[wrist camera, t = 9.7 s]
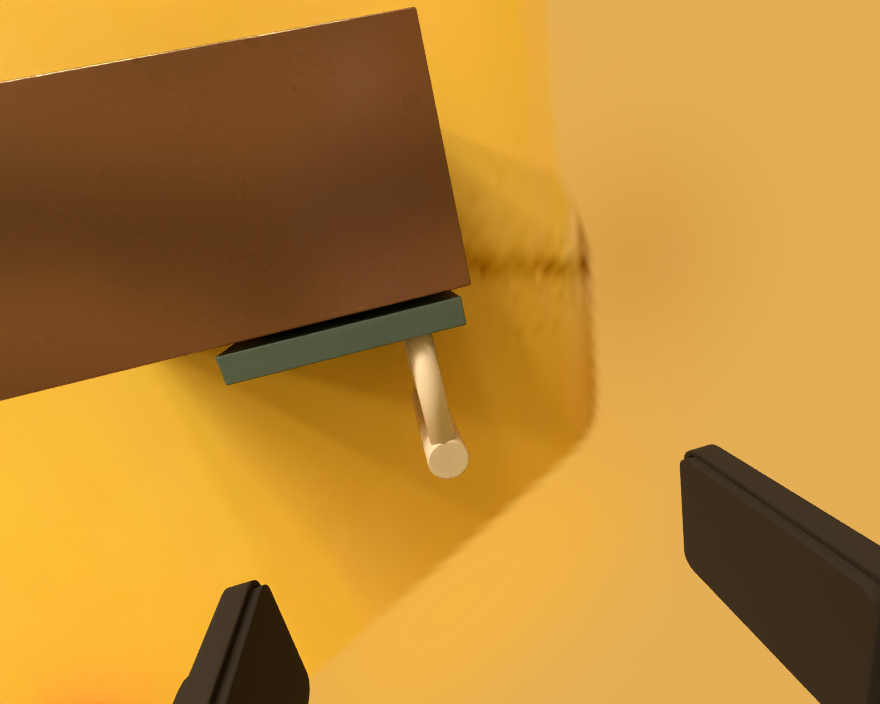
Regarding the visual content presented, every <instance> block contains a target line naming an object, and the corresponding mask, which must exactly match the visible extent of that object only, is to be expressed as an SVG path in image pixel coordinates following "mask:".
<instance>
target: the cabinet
mask: <svg viewBox="0 0 880 704" xmlns="http://www.w3.org/2000/svg"><path fill="white" fill-rule="evenodd" d="M469 285H471V281H470V276H469V271H468V266H467V261H466V256H465V251H464V246H463V241H462V236H461V231H460V226H459V221H458V216H457V211H456V206H455V201H454V196H453V191H452V186H451V181H450V176H449V171H448V166H447V161H446V156H445V150H444V145H443V140H442V135H441V130H440V125H439V120H438V115H437V110H436V105H435V100H434V95H433V90H432V85H431V80H430V75H429V70H428V65H427V60H426V55H425V50H424V45H423V40H422V35H421V30H420V25H419V20H418V15H417V10H416V8H415V7H411V8H405V9H400V10H394V11H389V12H383V13H378V14H372V15H367V16H361V17H356V18H350V19H345V20H339V21H334V22H328V23H323V24H317V25H312V26H306V27H301V28H295V29H290V30H284V31H278V32H273V33H267V34H262V35H256V36H251V37H245V38H240V39H234V40H229V41H223V42H218V43H212V44H207V45H201V46H196V47H190V48H185V49H179V50H174V51H168V52H163V53H157V54H152V55H146V56H141V57H135V58H130V59H124V60H119V61H113V62H107V63H102V64H96V65H91V66H85V67H80V68H74V69H69V70H63V71H58V72H52V73H47V74H41V75H36V76H30V77H25V78H19V79H14V80H8V81H3V82H0V401H2V400H6V399H10V398H14V397H18V396H22V395H26V394H30V393H34V392H38V391H42V390H46V389H50V388H54V387H59V386H63V385H67V384H71V383H75V382H79V381H83V380H87V379H91V378H95V377H99V376H103V375H107V374H111V373H115V372H119V371H124V370H128V369H132V368H136V367H140V366H144V365H148V364H152V363H156V362H160V361H164V360H168V359H172V358H176V357H180V356H184V355H189V354H193V353H197V352H201V351H205V350H209V349H213V348H217V347H221V346H225V345H229V344H233V343H237V342H241V341H245V340H249V339H254V338H258V337H262V336H266V335H270V334H274V333H278V332H282V331H286V330H290V329H294V328H298V327H302V326H306V325H310V324H314V323H319V322H323V321H327V320H331V319H335V318H339V317H343V316H347V315H351V314H355V313H359V312H363V311H367V310H371V309H375V308H379V307H384V306H388V305H392V304H396V303H400V302H404V301H408V300H412V299H416V298H420V297H424V296H428V295H432V294H436V293H440V292H444V291H449V290H453V289H457V288H461V287H465V286H469Z"/></svg>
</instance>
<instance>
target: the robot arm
mask: <svg viewBox="0 0 880 704" xmlns="http://www.w3.org/2000/svg"><path fill="white" fill-rule="evenodd" d="M680 476H681V477H680V478H681V495H682V515H683V534H684V552H685V556H686V559H687V561H688V563H689V565H690V567H691V568H692V569H693V570H694V572H695V573H696V574H697V575H698V576H699V577H700V578H701V579H702V580H703V581H704V582H705V583H706V584H707V585H708V586H709V587H710V588H711V589H712V590H713V591H714V593H715V594H716V595H717V596H718V597H719V598H720V599H721V600H722V601H723V602H724V603H725V604H726V605H727V606H728V607H729V608H730V609H731V610H732V611H733V613H734V614H735V615H736V616H737V617H738V618H739V619H740V620H741V621H742V622H743V623H744V624H745V625H746V626H747V627H748V628H749V629H750V630H751V631H752V632H753V633H754V634H755V636H756V637H758V639H759V640H760V641H761V642H762V643H763V644H764V645H765V646H766V647H767V648H768V649H769V650H770V651H771V652H772V653H773V654H774V655H775V656H776V658H778V660H780V662H781V663H782V664H783V665H784V666H785V667H786V668H787V669H788V670H789V671H790V672H791V673H792V674H793V675H794V676H795V677H796V678H797V680H799V682H800V683H801V684H802V685H803V686H804V687H805V688H806V689H807V690H808V691H809V692H810V693H811V694H812V695H813V696H814V697H815V698H816V699H817V700H818V701H819V702H820V704H880V546H879V545H878V544H876V543H875V542H873V541H871V540H870V539H868V538H866V537H865V536H863V535H862V534H860V533H858V532H857V531H855V530H853V529H852V528H850V527H849V526H847V525H845V524H844V523H842V522H840V521H839V520H837V519H836V518H834V517H832V516H831V515H829V514H827V513H826V512H824V511H823V510H821V509H819V508H818V507H816V506H814V505H813V504H811V503H809V502H808V501H806V500H805V499H803V498H801V497H800V496H798V495H797V494H795V493H793V492H791V491H790V490H788V489H787V488H785V487H784V486H782V485H780V484H779V483H777V482H775V481H774V480H772V479H770V478H769V477H767V476H766V475H764V474H762V473H761V472H759V471H757V470H756V469H754V468H753V467H751V466H749V465H748V464H746V463H745V462H743V461H741V460H740V459H738V458H736V457H735V456H733V455H731V454H730V453H728V452H727V451H725V450H723V449H722V448H720V447H718V446H716V445H711V444H710V445H707V446H704V447H700V448H697V449H693V450H690V451H688V452H686V454H685V456H684V460H682V461H681V462H680ZM309 688H310V686H309V678H308V674H307V672H306V669H305V667H304V665H303V663H302V660H301V658H300V656H299V653H298V651H297V649H296V647H295V644H294V642H293V640H292V638H291V635H290V633H289V631H288V628H287V626H286V624H285V622H284V619H283V617H282V615H281V613H280V610H279V608H278V606H277V603H276V601H275V599H274V597H273V594H272V592H271V590H270V588H269V586H268V585H262V586H261V585H260V583H259V582H258V581H257V580H253V581H249V582H246V583H243V584H239V585H236V586H232V587H229V588H227V589H226V590H225V591H224V592H223V594H222V596H221V599H220V601H219V603H218V606H217V608H216V611H215V613H214V616H213V618H212V620H211V623H210V625H209V628H208V630H207V633H206V635H205V637H204V640H203V642H202V645H201V647H200V650H199V652H198V654H197V657H196V659H195V662H194V664H193V667H192V669H191V671H190V674H189V676H188V677H187V678H186V679H185V680H184V681H183V683H182V685H181V687H180V688H179V690H178V692H177V695H176V697H175V699H174V702H173V704H308V702H309V691H310V689H309Z"/></svg>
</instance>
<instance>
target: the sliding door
mask: <svg viewBox="0 0 880 704" xmlns="http://www.w3.org/2000/svg"><path fill="white" fill-rule="evenodd" d="M465 324H466V319H465V315H464V310H463V305H462V300H461V297H460V296H458V295H457V294H455V293H454V292H452V291H450V290H449V291H444V292H440V293H436V294H432V295H428V296H424V297H420V298H416V299H412V300H408V301H404V302H400V303H396V304H392V305H388V306H384V307H379V308H375V309H371V310H367V311H363V312H359V313H355V314H351V315H347V316H343V317H339V318H335V319H331V320H327V321H323V322H319V323H314V324H310V325H306V326H302V327H298V328H294V329H290V330H286V331H282V332H278V333H274V334H270V335H266V336H262V337H258V338H254V339H249V340H245V341H241V342H237V343H235V344H233V345H232V346H231V347H229V348H228V349H227V350H225V351H224V352H223V353H221V354H220V355H219V356H217V357H216V360H217V363H218V365H219V368H220V370H221V373H222V375H223V378H224V380H225V383H226V385H231V384H235V383H238V382H242V381H246V380H250V379H254V378H258V377H262V376H266V375H270V374H274V373H278V372H282V371H286V370H290V369H293V368H297V367H301V366H305V365H309V364H313V363H317V362H321V361H325V360H329V359H333V358H337V357H341V356H344V355H348V354H352V353H356V352H360V351H364V350H368V349H372V348H376V347H380V346H384V345H388V344H392V343H396V342H399V341H403V345H404V349H405V353H406V357H407V361H408V365H409V369H410V372H411V376H412V380H413V384H414V389H413V391H412V394H411V399H412V403H413V407H414V411H415V415H416V419H417V423H418V427H419V431H420V435H421V439H422V443H423V447H424V451H425V455H426V459H427V463H428V467H429V469H430V471H431V472H432V473H433V474H434V475H435V476H437V477H439V478H443V479H451V478H454V477H457V476H459V475H460V474H461V473H463V472H464V470H465V469H466V467H467V465H468V462H469V453H468V451H467V448H466V446H465V444H464V442H463V440H462V437H461V435H460V433H459V431H458V429H457V427H456V424H455V422H454V420H453V418H452V416H451V413H450V410H449V406H448V402H447V398H446V393H445V389H444V385H443V380H442V376H441V372H440V368H439V363H438V359H437V355H436V351H435V346H434V342H433V338H432V333H435V332H439V331H443V330H447V329H450V328H454V327H458V326H462V325H465Z"/></svg>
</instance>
